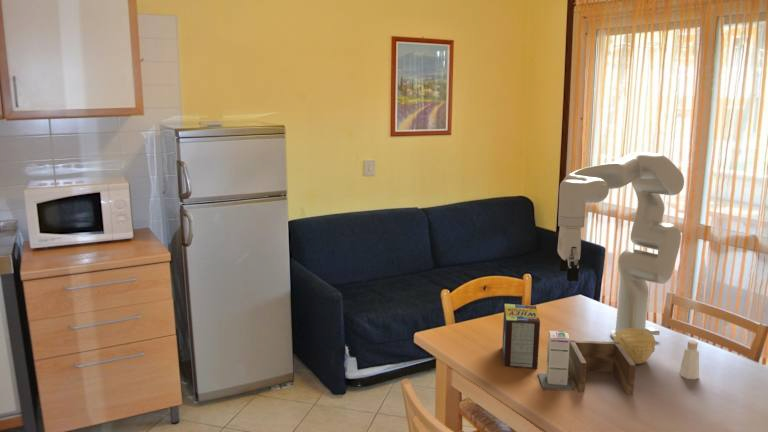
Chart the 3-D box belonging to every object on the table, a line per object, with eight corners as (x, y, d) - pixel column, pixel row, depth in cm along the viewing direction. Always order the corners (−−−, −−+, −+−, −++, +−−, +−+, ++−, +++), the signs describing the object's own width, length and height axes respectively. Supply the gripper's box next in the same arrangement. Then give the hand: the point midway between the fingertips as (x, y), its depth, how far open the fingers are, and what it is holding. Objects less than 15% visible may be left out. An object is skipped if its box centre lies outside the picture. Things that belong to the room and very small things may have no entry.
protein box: (533, 349, 206) (536, 305, 203) (537, 369, 191) (540, 321, 188) (501, 347, 208) (503, 303, 205) (503, 366, 193) (505, 319, 190)
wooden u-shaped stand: (616, 369, 191) (618, 342, 190) (632, 394, 175) (635, 365, 173) (567, 367, 193) (569, 340, 191) (578, 392, 176) (581, 362, 175)
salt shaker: (687, 380, 185) (691, 345, 182) (675, 372, 190) (679, 338, 188) (703, 379, 186) (707, 344, 184) (690, 371, 191) (694, 337, 189)
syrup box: (567, 385, 179) (571, 338, 176) (546, 384, 180) (549, 337, 177) (565, 377, 184) (569, 331, 182) (545, 375, 185) (548, 329, 183)
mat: (568, 376, 186) (568, 374, 186) (574, 390, 177) (574, 388, 177) (537, 375, 187) (537, 373, 187) (542, 388, 178) (542, 387, 178)
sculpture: (624, 369, 192) (627, 336, 190) (605, 353, 204) (608, 322, 202) (658, 367, 194) (662, 334, 192) (637, 351, 205) (640, 320, 203)
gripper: (552, 215, 194) (550, 267, 197) (564, 227, 177) (562, 284, 180) (576, 214, 193) (574, 267, 197) (591, 227, 176) (588, 284, 180)
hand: (568, 275), depth 189 cm, fingers open, 9 cm apart
